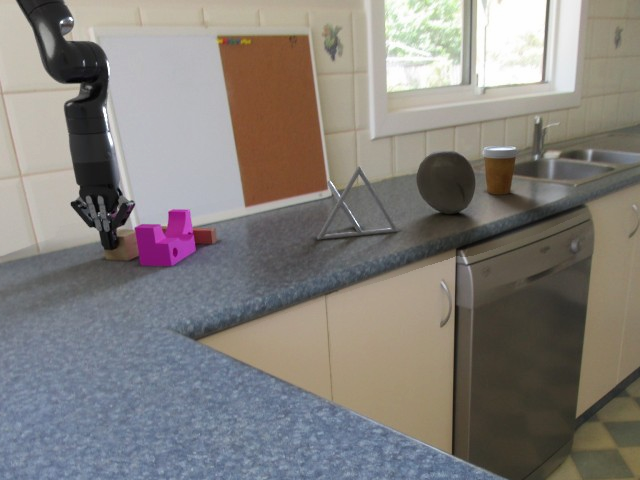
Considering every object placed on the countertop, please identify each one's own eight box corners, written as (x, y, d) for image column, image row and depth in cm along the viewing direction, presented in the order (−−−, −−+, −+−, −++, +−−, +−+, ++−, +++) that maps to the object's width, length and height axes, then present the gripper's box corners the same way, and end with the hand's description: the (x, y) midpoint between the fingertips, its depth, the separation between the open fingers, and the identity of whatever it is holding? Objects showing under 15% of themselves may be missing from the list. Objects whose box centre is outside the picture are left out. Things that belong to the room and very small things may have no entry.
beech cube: (106, 260, 130) (101, 235, 128) (122, 252, 134) (117, 228, 132) (128, 261, 129) (124, 236, 127) (143, 254, 133) (139, 229, 131)
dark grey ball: (476, 207, 166) (477, 146, 161) (472, 221, 153) (473, 155, 148) (421, 206, 168) (420, 146, 163) (412, 219, 155) (411, 155, 150)
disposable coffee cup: (517, 189, 186) (518, 145, 182) (514, 196, 178) (516, 150, 173) (483, 188, 188) (484, 145, 184) (479, 195, 180) (480, 150, 175)
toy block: (171, 266, 125) (165, 228, 122) (140, 266, 126) (134, 227, 123) (205, 245, 138) (201, 209, 136) (177, 244, 139) (172, 209, 137)
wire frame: (326, 243, 156) (382, 207, 156) (338, 269, 145) (399, 231, 145) (284, 183, 145) (345, 145, 145) (295, 207, 135) (360, 166, 134)
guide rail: (143, 241, 142) (140, 227, 141) (148, 238, 144) (146, 225, 143) (212, 244, 138) (210, 230, 137) (217, 242, 140) (215, 228, 139)
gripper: (138, 155, 123) (152, 245, 129) (77, 154, 126) (94, 242, 132) (112, 161, 116) (128, 256, 122) (49, 160, 119) (68, 253, 125)
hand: (111, 249), depth 127 cm, fingers closed
